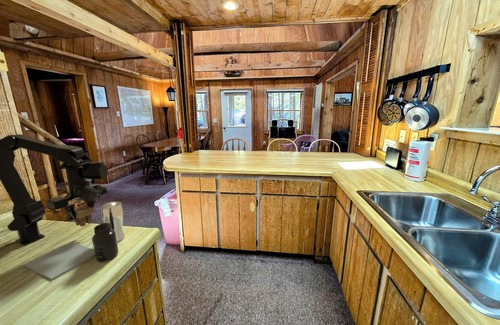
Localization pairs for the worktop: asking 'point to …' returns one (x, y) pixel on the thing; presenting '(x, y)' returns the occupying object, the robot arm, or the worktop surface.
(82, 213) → the walnut stool
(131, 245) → the worktop surface
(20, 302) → the worktop surface
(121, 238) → the beer glass
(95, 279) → the worktop surface
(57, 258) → the rubber mat
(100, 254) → the supplement bottle
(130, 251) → the worktop surface
